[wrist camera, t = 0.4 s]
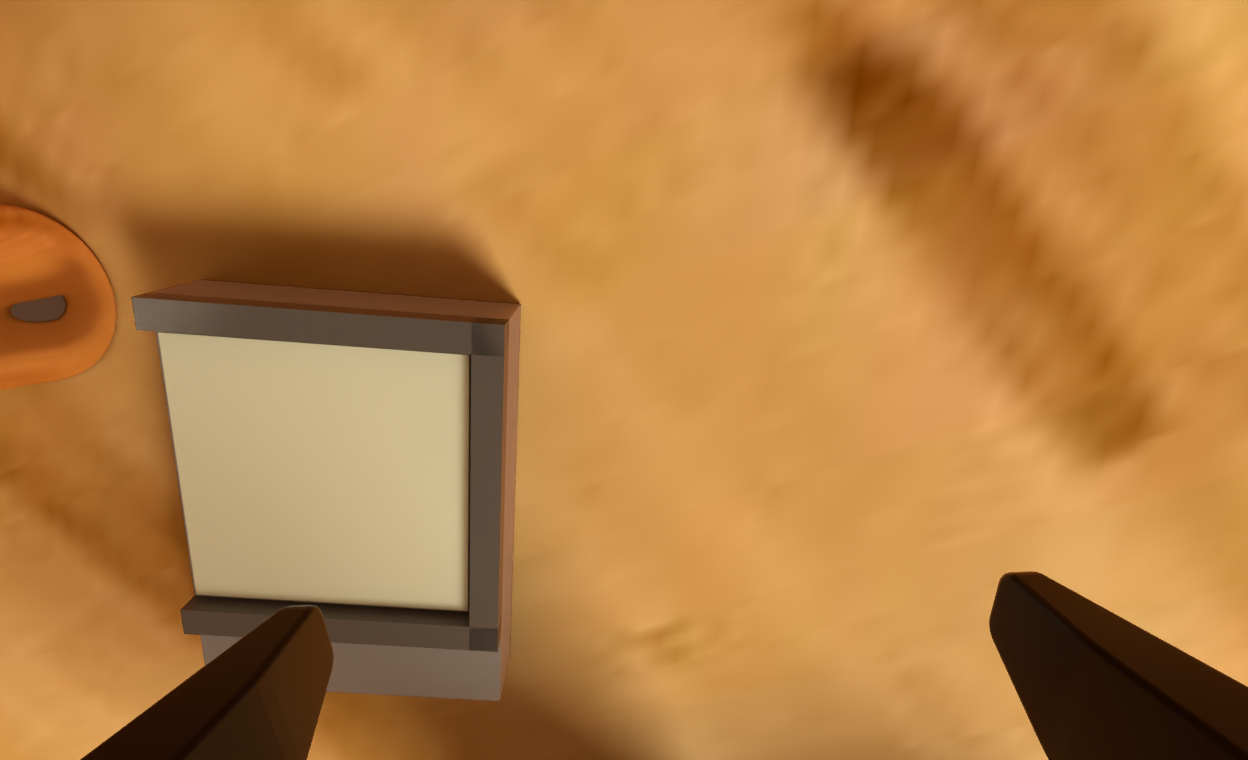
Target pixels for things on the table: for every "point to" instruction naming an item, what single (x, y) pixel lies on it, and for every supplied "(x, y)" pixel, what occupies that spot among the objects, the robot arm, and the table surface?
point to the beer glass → (49, 301)
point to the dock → (348, 474)
